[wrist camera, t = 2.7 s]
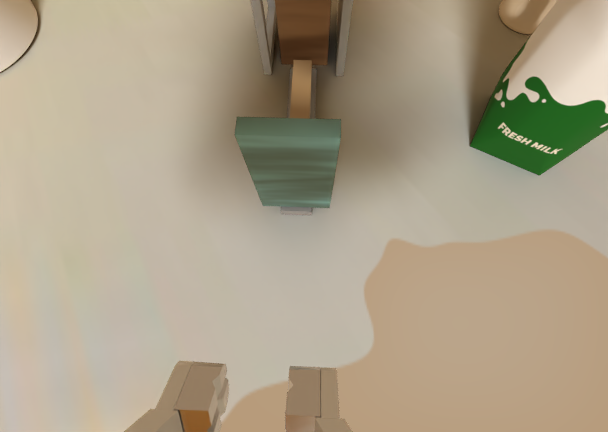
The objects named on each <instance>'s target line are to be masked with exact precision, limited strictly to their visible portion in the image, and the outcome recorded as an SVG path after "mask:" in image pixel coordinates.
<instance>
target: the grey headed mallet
mask: <svg viewBox="0 0 608 432" xmlns="http://www.w3.org/2000/svg"><path fill="white" fill-rule="evenodd" d="M267 2H268V13H267V23H266V22H265V15H264V8H263V1H262V0H251V5H252V11H253V16H254V21H255V27H256V32H257V38H258V43H259V48H260V54H261V59H262V65H263V70H264V74H272V64H273V53H274V41H275V30H276V19H277V16H276V7H275V0H267ZM352 6H353V0H338V4H337V33H336V76H343V75H344V67H345V59H346V52H347V44H348V37H349V29H350V21H351V14H352ZM292 75H293V68H290V79H289V94H288V109H287V118H290V106H291V90H292ZM316 76H317V69H312V77H311V101H310V119H315V104H316ZM281 214H292V215H311V214H312V207H284V206H281Z"/></svg>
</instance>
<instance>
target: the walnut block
mask: <svg viewBox="0 0 608 432" xmlns="http://www.w3.org/2000/svg"><path fill="white" fill-rule="evenodd" d="M275 7H276V16H277V25H278V34H279V44H280V53H281V62H282V64H293V60H312V65H327V59H328V43H329V28H330V12H331V0H275Z"/></svg>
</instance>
